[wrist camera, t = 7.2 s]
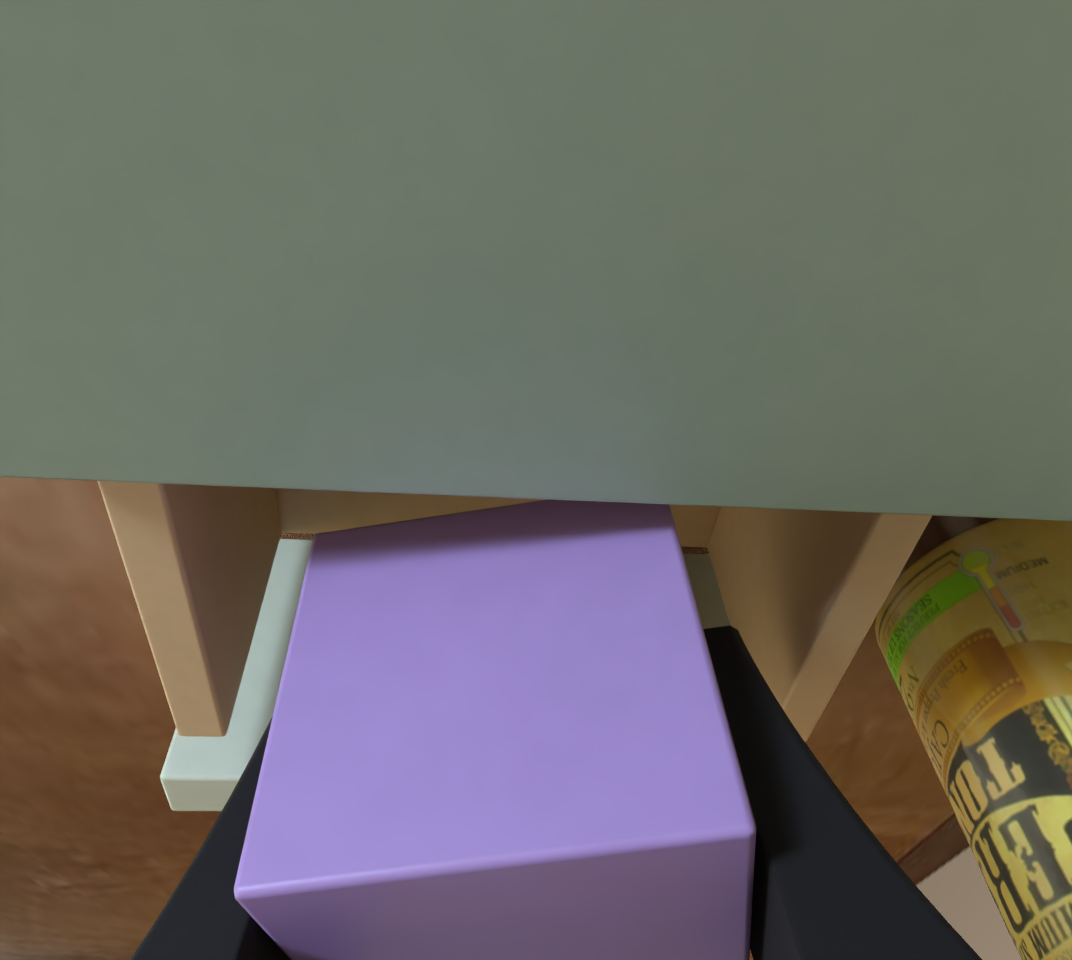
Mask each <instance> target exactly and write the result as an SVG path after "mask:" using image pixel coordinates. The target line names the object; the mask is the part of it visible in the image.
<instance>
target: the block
mask: <svg viewBox="0 0 1072 960" xmlns="http://www.w3.org/2000/svg"><path fill="white" fill-rule="evenodd" d="M755 843H756V824H755V820H754V816H753V812H752V809H751V805H750V801H749V798H748V794H747V790H746V786H745V783H744V779H743V775H742V771H741V768H740V764H739V760H738V757H737V753H736V749H735V745H734V742H733V738H732V734H731V731H730V727H729V723H728V719H727V716H726V712H725V708H724V704H723V701H722V697H721V693H720V690H719V686H718V682H717V678H716V675H715V671H714V667H713V664H712V660H711V656H710V652H709V649H708V645H707V641H706V637H705V634H704V630H703V626H702V623H701V619H700V615H699V611H698V608H697V604H696V600H695V597H694V593H693V589H692V585H691V582H690V578H689V574H688V570H687V567H686V563H685V559H684V556H683V552H682V548H681V544H680V541H679V537H678V533H677V530H676V526H675V522H674V518H673V515H672V511H671V507H670V505H669V504H645V503H621V502H597V501H572V500H541V501H534V502H527V503H521V504H514V505H507V506H500V507H493V508H487V509H480V510H473V511H466V512H460V513H453V514H446V515H439V516H432V517H426V518H419V519H412V520H405V521H399V522H392V523H385V524H378V525H371V526H365V527H358V528H351V529H344V530H338V531H331V532H324V533H318V534H316V535H315V536H314V537H313V540H312V545H311V549H310V554H309V558H308V563H307V567H306V571H305V576H304V580H303V585H302V589H301V593H300V598H299V602H298V607H297V611H296V616H295V620H294V624H293V629H292V633H291V638H290V642H289V646H288V651H287V655H286V660H285V664H284V669H283V673H282V677H281V682H280V686H279V691H278V695H277V699H276V704H275V708H274V713H273V717H272V722H271V726H270V730H269V735H268V739H267V744H266V748H265V752H264V757H263V761H262V766H261V770H260V775H259V779H258V783H257V788H256V792H255V797H254V801H253V805H252V810H251V814H250V819H249V823H248V828H247V832H246V836H245V841H244V845H243V850H242V854H241V858H240V863H239V867H238V872H237V876H236V881H235V885H234V895H235V899H236V900H237V901H238V902H239V903H240V905H241V906H242V907H243V908H244V909H245V910H246V911H247V912H248V913H249V914H250V915H251V917H252V918H253V919H254V920H255V921H256V922H257V923H258V924H259V925H260V926H261V927H262V929H263V930H264V931H265V932H266V933H267V934H268V935H269V936H270V937H271V938H272V940H273V941H274V942H275V943H276V944H277V945H278V946H279V947H280V948H281V949H282V950H283V952H284V953H285V954H286V955H287V956H288V957H289V958H290V959H291V960H749V954H750V936H751V917H752V899H753V880H754V862H755Z"/></svg>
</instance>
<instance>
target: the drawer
mask: <svg viewBox="0 0 1072 960" xmlns="http://www.w3.org/2000/svg"><path fill="white" fill-rule="evenodd" d="M98 484H99V487H100V490H101V494H102V497H103V500H104V503H105V506H106V509H107V512H108V515H109V519H110V522H111V525H112V528H113V531H114V534H115V537H116V541H117V544H118V547H119V550H120V553H121V556H122V559H123V563H124V566H125V569H126V572H127V575H128V578H129V581H130V585H131V588H132V591H133V594H134V597H135V600H136V603H137V606H138V610H139V613H140V616H141V619H142V622H143V625H144V628H145V632H146V635H147V638H148V641H149V644H150V647H151V650H152V654H153V657H154V660H155V663H156V666H157V669H158V672H159V675H160V679H161V682H162V685H163V688H164V691H165V694H166V697H167V701H168V704H169V707H170V710H171V713H172V716H173V719H174V723H175V726H176V729H175V732H174V735H173V738H172V741H171V744H170V747H169V751H168V754H167V757H166V760H165V763H164V766H163V769H162V772H161V775H160V780H161V783H162V785H163V788H164V791H165V794H166V796H167V799H168V802H169V805H170V807H171V809H172V810H174V811H222V810H223V808H224V806H225V804H226V803H227V801H228V799H229V797H230V795H231V794H232V792H233V790H234V788H235V786H236V785H237V783H238V781H239V779H240V777H241V775H242V773H243V771H244V770H245V768H246V766H247V764H248V762H249V760H250V758H251V757H252V755H253V753H254V751H255V749H256V747H257V745H258V743H259V741H260V739H261V737H262V735H263V734H264V732H265V730H266V728H267V726H268V724H269V722H270V720H271V718H272V716H273V713H274V708H275V704H276V699H277V695H278V691H279V686H280V682H281V677H282V673H283V669H284V664H285V660H286V655H287V651H288V646H289V642H290V638H291V633H292V629H293V624H294V620H295V616H296V611H297V607H298V602H299V598H300V593H301V589H302V585H303V580H304V576H305V571H306V567H307V563H308V558H309V554H310V549H311V545H312V540H298V539H280V536H281V532H287V533H315V534H318V533H324V532H331V531H338V530H344V529H351V528H358V527H365V526H371V525H378V524H385V523H392V522H399V521H405V520H412V519H419V518H426V517H432V516H439V515H446V514H453V513H460V512H466V511H473V510H480V509H487V508H493V507H500V506H507V505H514V504H521V503H527V502H534V501H541V500H548V499H524V498H500V497H476V496H452V495H428V494H404V493H380V492H356V491H332V490H308V489H283V488H259V487H235V486H211V485H187V484H163V483H139V482H115V481H98ZM670 507H671V511H672V515H673V518H674V522H675V526H676V530H677V533H678V537H679V541H680V544H681V547H703V548H707V549H708V553H709V554H695V553H683V556H684V559H685V563H686V567H687V570H688V574H689V578H690V582H691V585H692V589H693V593H694V597H695V600H696V604H697V608H698V611H699V615H700V619H701V623H702V626H703V629H707V628H714V627H721V626H729V625H730V626H732V627H734V628H735V629H737V630H738V631H739V633H740V635H741V637H742V639H743V641H744V643H745V645H746V647H747V649H748V651H749V653H750V655H751V657H752V658H753V660H754V662H755V664H756V666H757V667H758V669H759V671H760V673H761V674H762V676H763V678H764V679H765V681H766V683H767V684H768V686H769V688H770V689H771V691H772V693H773V694H774V696H775V697H776V699H777V701H778V702H779V704H780V705H781V707H782V708H783V710H784V712H785V713H786V715H787V716H788V718H789V719H790V721H791V722H792V724H793V725H794V727H795V728H796V730H797V731H798V733H799V734H800V736H801V737H802V739H803V740H804V742H806V741H807V740H808V738H809V736H810V735H811V733H812V731H813V729H814V727H815V726H816V724H817V722H818V720H819V718H820V717H821V715H822V713H823V711H824V709H825V708H826V706H827V704H828V702H829V700H830V699H831V697H832V695H833V693H834V691H835V690H836V688H837V686H838V684H839V682H840V681H841V679H842V677H843V675H844V673H845V672H846V670H847V668H848V666H849V664H850V663H851V661H852V659H853V657H854V655H855V654H856V652H857V650H858V648H859V646H860V645H861V643H862V641H863V639H864V638H865V636H866V634H867V632H868V630H869V629H870V627H871V625H872V623H873V621H874V620H875V618H876V616H877V614H878V612H879V611H880V609H881V607H882V605H883V603H884V602H885V600H886V598H887V596H888V594H889V593H890V591H891V589H892V587H893V585H894V584H895V582H896V580H897V578H898V576H899V575H900V573H901V571H902V569H903V567H904V566H905V564H906V562H907V560H908V558H909V557H910V555H911V553H912V551H913V550H914V548H915V546H916V544H917V542H918V541H919V539H920V537H921V535H922V533H923V532H924V530H925V528H926V526H927V524H928V523H929V521H930V519H931V517H932V515H910V514H886V513H861V512H837V511H813V510H789V509H765V508H741V507H717V506H693V505H670Z"/></svg>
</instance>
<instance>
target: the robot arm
mask: <svg viewBox="0 0 1072 960" xmlns="http://www.w3.org/2000/svg"><path fill="white" fill-rule="evenodd" d="M703 630H704V634H705V637H706V641H707V645H708V649H709V652H710V656H711V660H712V664H713V667H714V671H715V675H716V678H717V682H718V686H719V690H720V693H721V697H722V701H723V704H724V708H725V712H726V716H727V719H728V723H729V727H730V731H731V734H732V738H733V742H734V745H735V749H736V753H737V757H738V760H739V764H740V768H741V771H742V775H743V779H744V783H745V786H746V790H747V794H748V798H749V801H750V805H751V809H752V812H753V816H754V820H755V824H756V843H755V862H754V880H753V899H752V917H751V936H750V949H751V953H752V956H753V959H754V960H982V959H981V958H980V957H979V956H978V955H977V953H976V952H975V951H974V950H973V949H972V948H971V947H970V946H969V945H968V944H967V943H966V942H965V940H964V939H963V938H962V937H961V936H960V935H959V934H958V933H957V932H956V931H955V930H954V929H953V928H952V926H951V925H950V924H949V923H948V922H947V921H946V920H945V918H943V916H942V915H941V914H940V913H939V912H938V911H937V909H936V908H935V907H934V906H933V905H932V904H931V903H930V901H929V900H928V899H927V898H926V897H925V896H924V895H923V893H922V892H921V891H920V890H919V889H918V888H917V887H916V885H915V884H914V883H913V882H912V881H911V880H910V878H909V877H908V876H907V875H906V874H905V872H904V871H903V870H902V869H901V868H900V866H899V865H898V864H897V863H896V862H895V860H894V859H893V858H892V857H891V856H890V854H889V853H888V852H887V851H886V849H885V848H884V847H883V846H882V845H881V843H880V842H879V841H878V839H877V838H876V837H875V836H874V834H873V833H872V832H871V831H870V829H869V828H868V827H867V826H866V824H865V823H864V822H863V820H862V819H861V818H860V817H859V815H858V814H857V813H856V812H855V810H854V809H853V808H852V806H851V805H850V804H849V802H848V801H847V800H846V798H845V797H844V796H843V794H842V793H841V792H840V790H839V789H838V788H837V786H836V785H835V784H834V782H833V781H832V780H831V778H830V777H829V775H828V774H827V773H826V771H825V770H824V768H823V767H822V766H821V764H820V763H819V761H818V760H817V758H816V757H815V756H814V754H813V753H812V751H811V750H810V749H809V747H808V746H807V744H806V743H805V742H804V740H803V739H802V737H801V736H800V734H799V733H798V731H797V730H796V728H795V727H794V725H793V724H792V722H791V721H790V719H789V718H788V716H787V715H786V713H785V712H784V710H783V708H782V707H781V705H780V704H779V702H778V701H777V699H776V697H775V696H774V694H773V693H772V691H771V689H770V688H769V686H768V684H767V683H766V681H765V679H764V678H763V676H762V674H761V673H760V671H759V669H758V667H757V666H756V664H755V662H754V660H753V658H752V657H751V655H750V653H749V651H748V649H747V647H746V645H745V643H744V641H743V639H742V637H741V635H740V633H739V631H738V630H737V629H735V628H734V627H732V626H730V625H729V626H721V627H714V628H707V629H703ZM272 717H273V716H272ZM271 722H272V718H271V720H270V722H269V724H268V726H267V728H266V730H265V732H264V734H263V735H262V737H261V739H260V741H259V743H258V745H257V747H256V749H255V751H254V753H253V755H252V757H251V758H250V760H249V762H248V764H247V766H246V768H245V770H244V771H243V773H242V775H241V777H240V779H239V781H238V783H237V785H236V786H235V788H234V790H233V792H232V794H231V795H230V797H229V799H228V801H227V803H226V804H225V806H224V808H223V810H222V811H221V813H220V815H219V817H218V818H217V820H216V822H215V824H214V825H213V827H212V829H211V831H210V833H209V834H208V836H207V838H206V840H205V841H204V843H203V845H202V847H201V848H200V850H199V852H198V853H197V855H196V857H195V858H194V860H193V862H192V864H191V865H190V867H189V868H188V870H187V872H186V873H185V875H184V876H183V878H182V880H181V881H180V883H179V884H178V886H177V888H176V889H175V891H174V892H173V894H172V896H171V897H170V899H169V901H168V902H167V904H166V905H165V907H164V909H163V910H162V912H161V913H160V915H159V917H158V918H157V920H156V921H155V923H154V925H153V926H152V928H151V929H150V931H149V932H148V934H147V935H146V937H145V938H144V940H143V941H142V943H141V944H140V946H139V947H138V949H137V950H136V952H135V953H134V955H133V956H132V958H131V959H130V960H291V959H290V958H289V957H288V956H287V955H286V954H285V953H284V952H283V950H282V949H281V948H280V947H279V946H278V945H277V944H276V943H275V942H274V941H273V940H272V938H271V937H270V936H269V935H268V934H267V933H266V932H265V931H264V930H263V929H262V927H261V926H260V925H259V924H258V923H257V922H256V921H255V920H254V919H253V918H252V917H251V915H250V914H249V913H248V912H247V911H246V910H245V909H244V908H243V907H242V906H241V905H240V903H239V902H238V901H237V900H236V899H235V895H234V885H235V881H236V876H237V872H238V867H239V863H240V858H241V854H242V850H243V845H244V841H245V836H246V832H247V828H248V823H249V819H250V814H251V810H252V805H253V801H254V797H255V792H256V788H257V783H258V779H259V775H260V770H261V766H262V761H263V757H264V752H265V748H266V744H267V739H268V735H269V730H270V726H271Z"/></svg>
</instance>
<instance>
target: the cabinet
mask: <svg viewBox="0 0 1072 960" xmlns="http://www.w3.org/2000/svg"><path fill="white" fill-rule="evenodd" d="M0 477H19V478H43V479H67V480H91V481H115V482H139V483H163V484H187V485H211V486H235V487H259V488H283V489H308V490H332V491H356V492H380V493H404V494H428V495H452V496H476V497H500V498H524V499H548V500H572V501H597V502H621V503H645V504H669V505H693V506H717V507H741V508H765V509H789V510H813V511H837V512H861V513H886V514H910V515H934V516H958V517H982V518H1006V519H1030V520H1054V521H1072V0H0Z"/></svg>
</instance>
